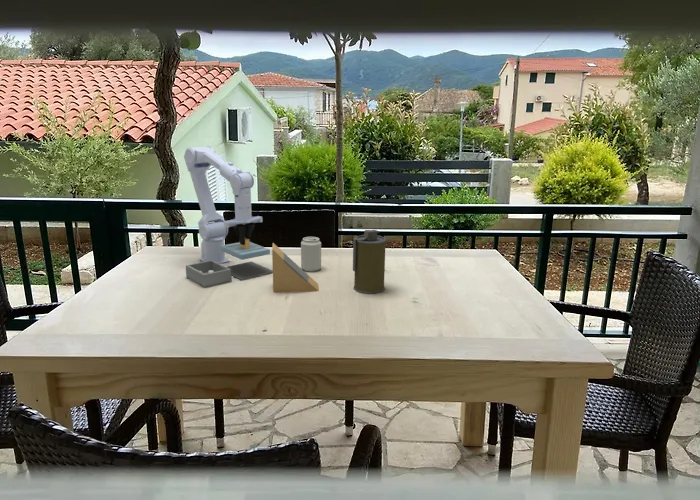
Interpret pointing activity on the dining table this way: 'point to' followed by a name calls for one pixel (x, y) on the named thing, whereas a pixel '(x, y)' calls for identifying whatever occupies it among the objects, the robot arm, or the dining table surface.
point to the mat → (248, 270)
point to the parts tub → (208, 273)
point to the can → (311, 254)
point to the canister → (369, 262)
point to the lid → (245, 250)
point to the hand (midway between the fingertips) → (244, 243)
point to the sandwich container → (289, 274)
